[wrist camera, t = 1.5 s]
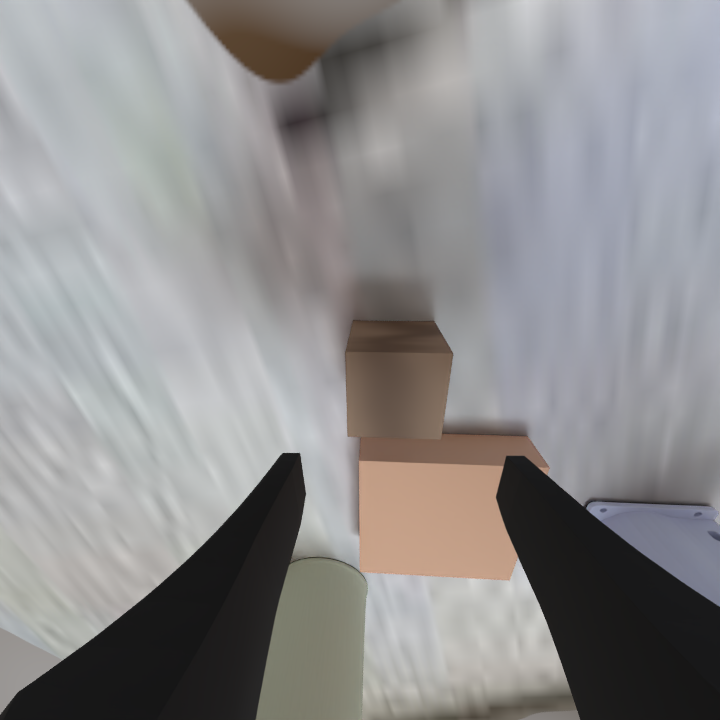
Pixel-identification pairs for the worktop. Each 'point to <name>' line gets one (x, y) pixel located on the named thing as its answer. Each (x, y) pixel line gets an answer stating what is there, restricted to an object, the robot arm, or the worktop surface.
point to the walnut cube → (396, 379)
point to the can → (316, 645)
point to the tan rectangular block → (437, 505)
